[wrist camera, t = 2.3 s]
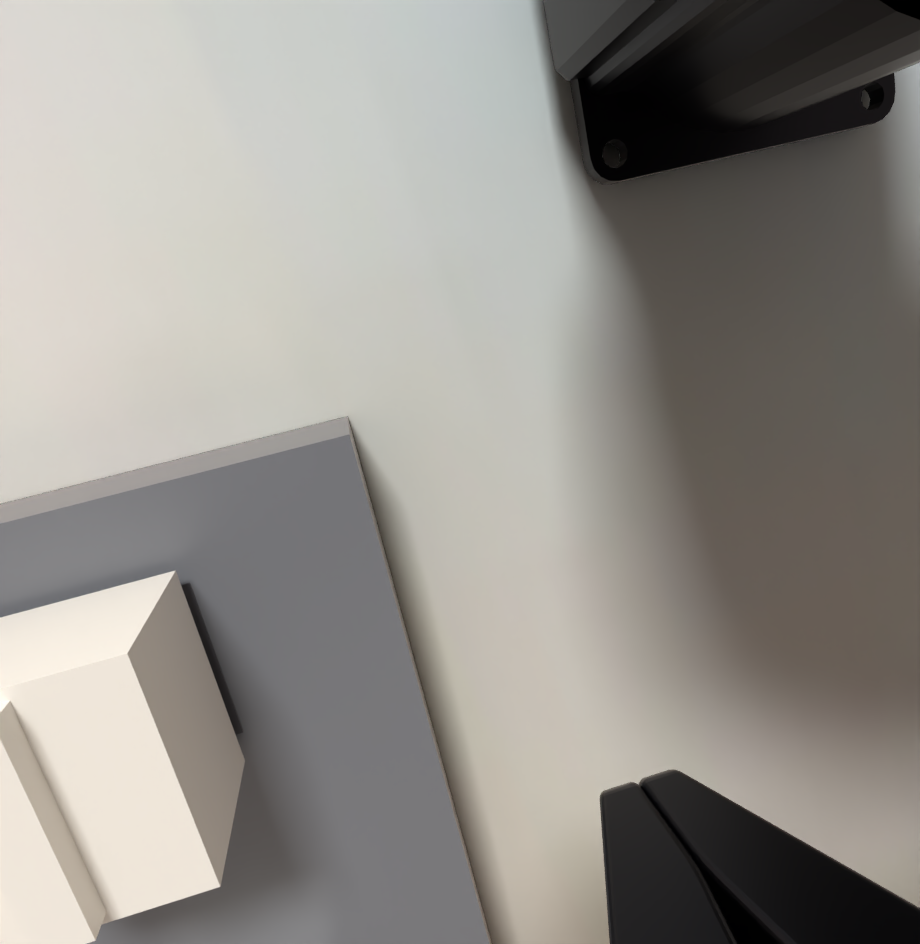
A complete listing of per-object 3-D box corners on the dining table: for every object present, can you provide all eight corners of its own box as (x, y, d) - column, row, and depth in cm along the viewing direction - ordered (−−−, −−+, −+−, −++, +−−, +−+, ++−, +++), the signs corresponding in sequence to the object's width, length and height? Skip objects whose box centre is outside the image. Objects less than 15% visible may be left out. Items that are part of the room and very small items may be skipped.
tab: (175, 570, 12) (116, 672, 9) (244, 760, 13) (214, 915, 10) (-64, 634, 12) (-220, 766, 9) (28, 826, 13) (-78, 1009, 10)
